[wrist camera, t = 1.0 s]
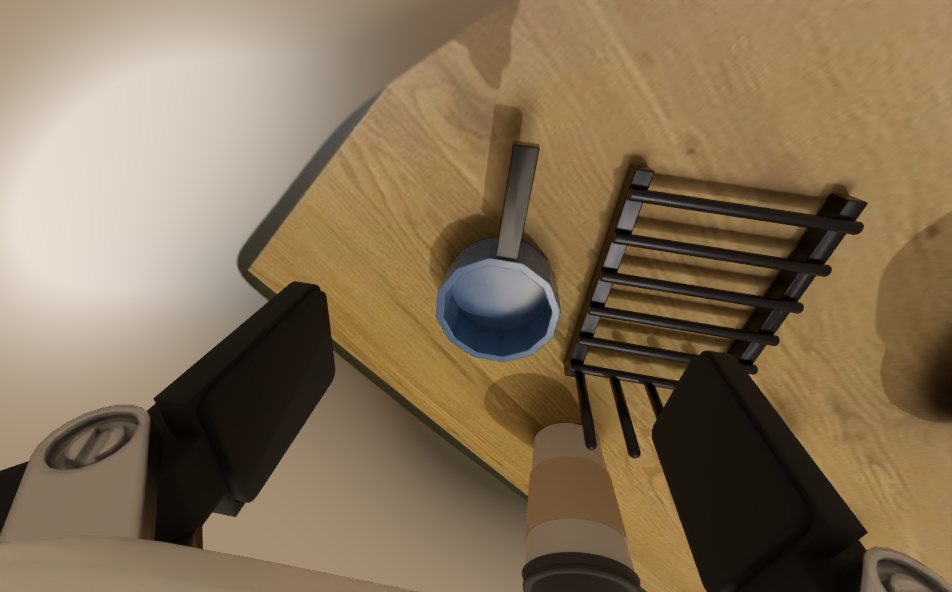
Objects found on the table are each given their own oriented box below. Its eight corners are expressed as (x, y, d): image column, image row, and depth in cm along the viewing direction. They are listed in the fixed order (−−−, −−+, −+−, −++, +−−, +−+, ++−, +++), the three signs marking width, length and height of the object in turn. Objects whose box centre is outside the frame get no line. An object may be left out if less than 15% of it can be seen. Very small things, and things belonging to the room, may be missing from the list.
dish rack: (630, 163, 24) (680, 208, 16) (850, 195, 23) (1020, 259, 15) (563, 364, 33) (573, 455, 25) (717, 391, 32) (777, 493, 25)
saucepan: (459, 125, 24) (447, 134, 20) (595, 145, 23) (607, 157, 20) (443, 321, 32) (433, 351, 29) (542, 338, 32) (543, 371, 28)
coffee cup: (515, 420, 38) (507, 592, 25) (603, 410, 36) (643, 595, 23) (534, 471, 42) (536, 640, 30) (614, 465, 40) (654, 648, 27)
